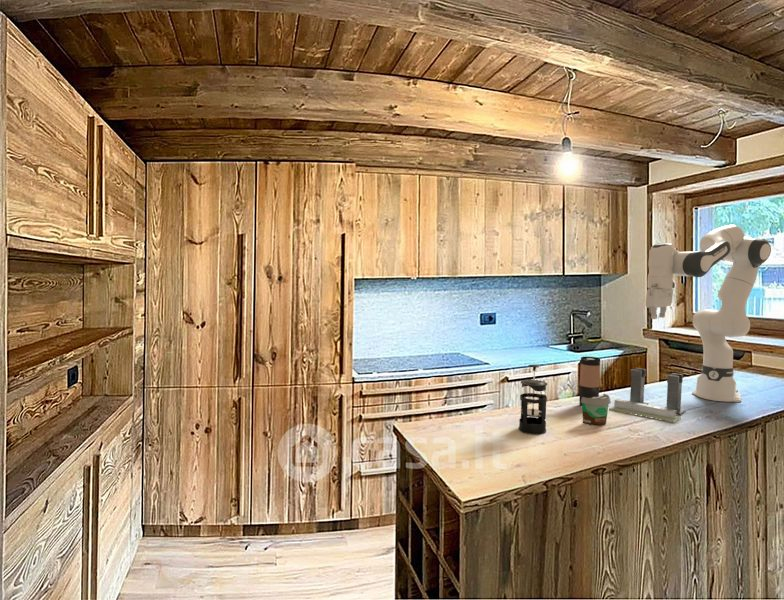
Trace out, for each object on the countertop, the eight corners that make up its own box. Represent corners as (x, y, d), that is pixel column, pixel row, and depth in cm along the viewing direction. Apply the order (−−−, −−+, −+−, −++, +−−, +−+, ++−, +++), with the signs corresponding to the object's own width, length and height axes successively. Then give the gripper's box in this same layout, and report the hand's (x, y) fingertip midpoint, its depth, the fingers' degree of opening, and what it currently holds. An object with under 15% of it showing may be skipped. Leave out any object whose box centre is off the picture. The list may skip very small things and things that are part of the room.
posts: (631, 401, 221) (632, 367, 220) (685, 412, 206) (687, 374, 205) (624, 404, 216) (626, 369, 215) (680, 415, 201) (682, 377, 200)
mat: (616, 406, 214) (617, 404, 214) (680, 418, 197) (681, 417, 197) (609, 409, 208) (609, 408, 208) (674, 423, 191) (674, 421, 191)
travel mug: (595, 404, 216) (597, 356, 215) (601, 409, 209) (603, 360, 207) (576, 403, 217) (578, 356, 216) (581, 408, 209) (583, 359, 208)
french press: (533, 436, 174) (536, 369, 172) (511, 429, 181) (513, 364, 179) (554, 430, 181) (557, 365, 179) (532, 423, 188) (534, 361, 187)
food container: (593, 428, 183) (594, 400, 183) (579, 423, 189) (581, 396, 188) (617, 424, 189) (618, 397, 188) (603, 419, 194) (604, 393, 194)
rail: (617, 406, 211) (617, 398, 211) (676, 417, 196) (676, 410, 196) (614, 407, 209) (614, 400, 209) (673, 419, 194) (674, 411, 194)
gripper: (659, 284, 197) (657, 320, 198) (676, 283, 212) (674, 317, 213) (642, 283, 202) (640, 319, 203) (659, 283, 216) (658, 316, 217)
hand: (658, 318), depth 208 cm, fingers open, 8 cm apart
